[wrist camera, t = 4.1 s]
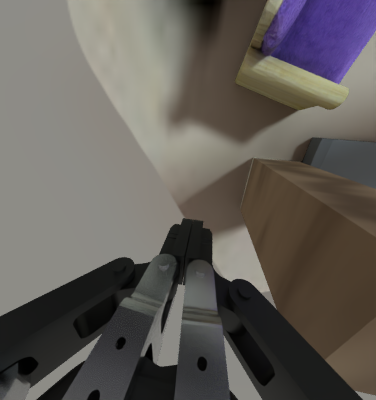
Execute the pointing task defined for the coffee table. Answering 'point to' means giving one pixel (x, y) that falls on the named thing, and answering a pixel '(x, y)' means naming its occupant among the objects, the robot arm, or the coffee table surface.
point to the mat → (344, 159)
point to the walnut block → (318, 259)
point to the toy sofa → (306, 50)
